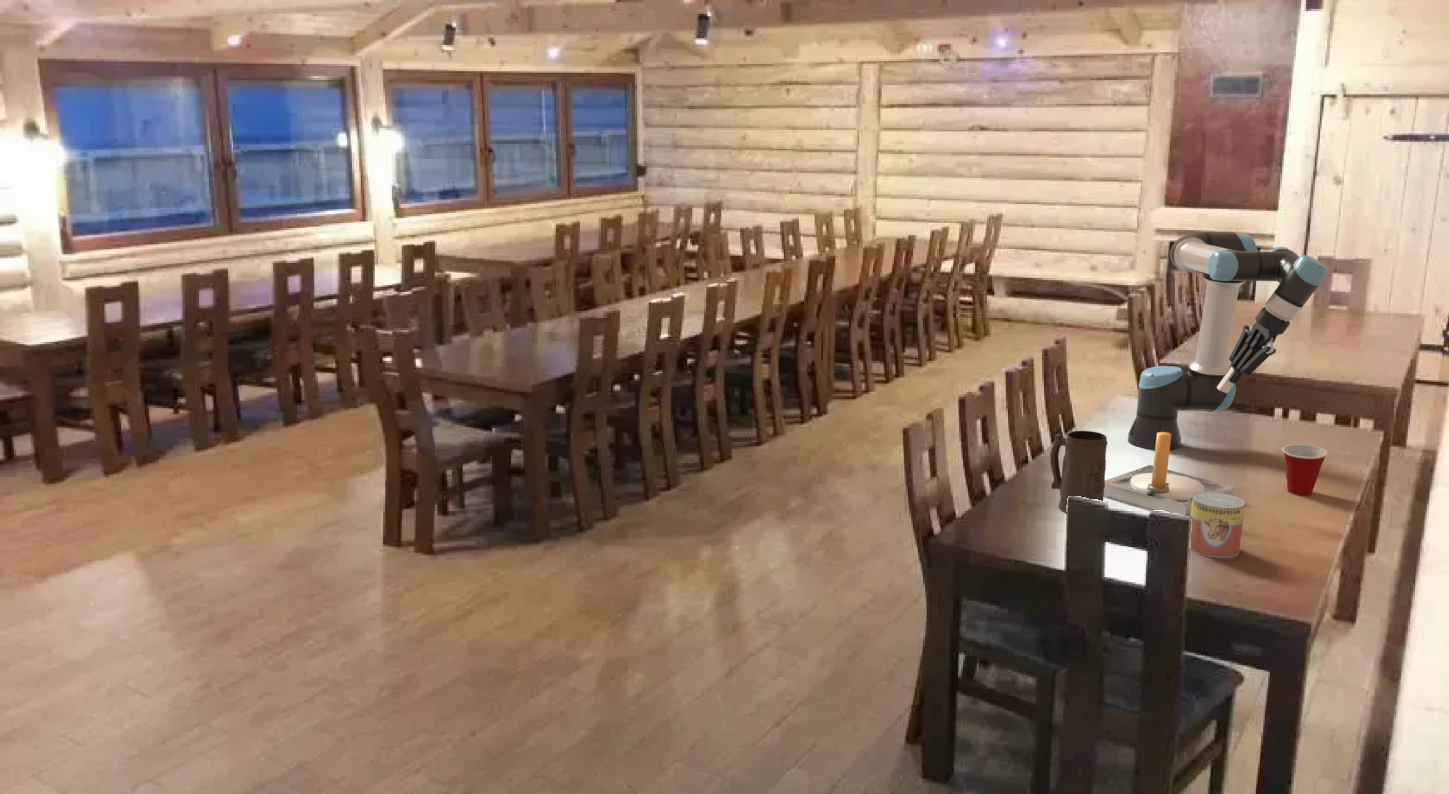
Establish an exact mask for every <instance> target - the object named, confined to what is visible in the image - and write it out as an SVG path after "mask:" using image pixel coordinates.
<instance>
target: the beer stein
mask: <svg viewBox="0 0 1449 794" xmlns="http://www.w3.org/2000/svg"><path fill="white" fill-rule="evenodd" d="M1107 438H1108V437H1107V436H1106V434H1103V433H1101V432H1097V431H1090V430H1073V431H1070V432H1067V435H1066V437H1064V435H1062V434H1060V433H1056V434H1055V435H1054V441H1053V443H1052V447H1051V449H1050V454H1049V456H1050V457H1049V459H1050V460H1049V463H1050V468H1051V473H1052V475H1053V476H1052V477H1053V479H1052V480H1053V481H1052V482H1051V485H1050V487H1051V489H1052V490H1059V492H1060V493H1059V497H1060V500H1059V502H1058V508H1059V509H1060V510H1061V511H1062V512H1064V513H1066V505H1067V498H1068V496H1081V497H1086V498H1089V499H1098V500H1101V501H1102V502H1103V501H1104V497H1105V496H1104V488H1105V480H1106V479H1105V478H1106V477H1105V476H1106V465H1107V460H1106V456H1107V446H1108V441H1107V440H1108V439H1107ZM1063 446H1064V448H1065V450H1064V451H1065V452H1064V456H1063V460H1062V469H1061V468H1060V461H1059V453H1060V449H1061V447H1063ZM1060 469H1061V470H1060Z"/></svg>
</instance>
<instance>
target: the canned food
mask: <svg viewBox="0 0 1449 794" xmlns="http://www.w3.org/2000/svg"><path fill="white" fill-rule="evenodd" d="M1245 509H1246V501H1245V500H1244V499H1242V498H1240V496H1237V495H1234V494H1233V495H1230V494H1225V493H1219V492H1199V493H1195V494H1194V495H1192V506H1191V515H1190V518H1189V520H1190V519H1192V532H1191V550H1190V551H1191V552H1193V553H1195V554H1198V555H1201V556H1204V557H1209V558H1215V559H1230V558H1235V557H1237V556H1238V555H1239V554H1240V547H1241V541H1242V539H1241V538H1242V531H1243V522H1244V516H1245Z"/></svg>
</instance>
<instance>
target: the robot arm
mask: <svg viewBox="0 0 1449 794" xmlns="http://www.w3.org/2000/svg"><path fill="white" fill-rule="evenodd" d="M1256 244H1257V243H1256V241H1255V240H1254V238H1253V237H1252V236H1251V235H1250V234H1247V233H1240V232H1191V233H1189V234H1185V235H1183V236H1181V237H1179V238H1178V239H1176V240H1175V241H1174V243H1173V244H1172V245H1171V248H1170V251H1169V257H1170V261H1171V263H1172V264H1173V266H1174V267H1175V268H1177V269H1178V270H1180V271H1182V272H1188V273H1193V274H1202V279H1203V280H1204V281H1205V282H1206V292H1205V297H1204V303H1203V309H1202V317H1201V323H1200V328H1199V334H1198V341H1197V348H1196V355H1195V360H1193V361H1192V362H1191V363H1190V364H1189V365H1188V370H1187V371H1183V369H1182V368H1180V367H1179V366H1174V365H1170V366H1169V365H1159V366H1152V367H1148V368H1146V369H1143V371H1142V372H1141V374H1140V379H1139V383H1138V396H1137V406H1136V414H1135V418H1134V421H1133V423H1132V425H1131V427H1130V429H1129V431H1128V435H1127V437H1128V438H1127V442H1128V443H1129V444H1131V445H1133V446H1137V447H1139V448H1144V449H1150V450H1155V447H1156V437H1157V433H1158V432H1166V433H1170V434H1171V441H1170V450H1175V449H1178V448H1180V447H1181V446H1182V445H1181V444H1182V437H1181V433H1180V428H1179V424H1178V414H1179V411H1182V412H1183V411H1185V412H1187V411H1188V412H1189V411H1190V412H1191V411H1192V412H1208V413H1212V412H1223V411H1225V410H1226V409H1228V408H1229V407H1230V406H1231V405H1232V403H1233V401H1234V398H1235V396H1236V389H1237V387H1236V385H1237V383H1238V381H1239V380H1240V378H1241V377H1242V376H1243V375H1246V376H1250V375H1251V374H1252V373H1254V372H1255V370H1256V369H1257V368H1259V367H1260V366H1261V365H1262V364H1263V363H1264V362H1265V361H1266V360H1267V359H1268V358H1269V357H1270V356H1272V355H1275V354H1276V353H1277V349H1276V348H1274V343H1275V341H1276V339H1277V337H1278V336H1279V335H1283V334H1284V333H1285V331H1287V329H1288V327H1289V326H1290V324H1291V321H1294V319H1295V318H1296V316H1297V315H1298V313H1300V311H1301V310H1302V309H1303V307H1304V306H1305V304H1306V303H1307V302H1308V300H1309V299H1310V298H1311V296H1312V295H1313V294H1314V292H1315V291H1316V290H1317V289H1318V287H1319V286H1320V285H1321V284H1322V281H1323V279H1324V278H1325V276H1327V274H1328V271H1329V269H1328V267H1327V266H1326V265H1325V264H1324V263H1322V262H1321V261H1319V260H1318V259H1316V258H1313V256H1312V257H1311V256H1309V255H1307V254H1301V255H1300V256H1299V255H1298V254H1297V253H1296V252H1294V251H1293V250H1291V249H1290V248H1288V247H1286V246H1276V247H1273V248H1272V249H1269V250H1268V251H1258V247H1257V245H1256ZM1247 281H1248V282H1277V283H1279V285H1278V286H1277V287H1276V289H1275V290H1274V291H1273V292H1272V294H1271V295H1270V297H1269V298H1268V299H1267V301H1266V302H1265V304H1264V306H1265V307H1262V308H1261V309H1260V311H1259V312H1258V314H1256V317H1255V318H1254V319H1255V321H1256V322H1255V323H1253V324H1252V325H1251V326H1250V325H1246V324H1245V325H1244V326H1243V327H1242V332H1241V334H1240V335H1239V336H1240V337H1239V339H1238V341H1237V342H1236V344H1235V346H1234V348H1233V349H1232V351H1231V354H1230V355H1229V349H1230V345H1231V344H1230V343H1231V338H1232V331H1233V326H1234V319H1235V313H1236V309H1237V303H1238V302H1237V301H1238V296H1239V290H1240V288H1241V286H1242V285H1243V284H1245V283H1246V282H1247ZM1228 356H1229V358H1228ZM1227 361H1230V367H1229V366H1228V365H1227Z"/></svg>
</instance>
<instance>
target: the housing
mask: <svg viewBox="0 0 1449 794" xmlns="http://www.w3.org/2000/svg"><path fill="white" fill-rule="evenodd" d="M1143 473H1153V465H1150V464H1148V465H1146V466H1142V467H1139V468H1137V469H1135V470H1131V471H1129V472H1126V473H1123V474H1120V475H1118V476H1117V475H1116V476H1115V477H1111V478H1109V479H1105V488H1104V496H1103V497H1106V498H1110V499H1113V500H1116V499H1117V500H1116V501H1119V500H1120V501H1119V502H1123V503H1126V504H1129V505H1133V506H1137V507H1140V508H1142V509H1147V510H1149V511H1153V510H1164V511H1167V512H1170V513H1178V514H1181V515H1184V516H1190V515H1191V506H1192V497H1191V499H1190V500H1172V499H1168V498H1165V497H1161V496H1158V495H1154V492H1152V491H1150V492H1148V493H1147V492H1144V491H1140V490H1136V489H1133V488H1131V486H1130V483H1131V478H1132V477H1133V476H1135V475H1138V474H1143ZM1167 474H1174V475H1179V476H1184V477H1187V478H1191V479H1193V480H1196V481H1198V482H1200V483H1201V484H1202V485H1203V486H1204V492H1219V493H1225V494H1230V495H1233V496H1234V494H1235V493H1234V491H1235V486H1231V485H1228V484H1224V483H1220V482H1215V481H1213V480H1208V479H1205V478H1200V477H1198V476H1193V475H1189V474H1186V473H1181V472H1179V471H1175V470H1171V469H1170V470H1169V469H1167Z"/></svg>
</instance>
